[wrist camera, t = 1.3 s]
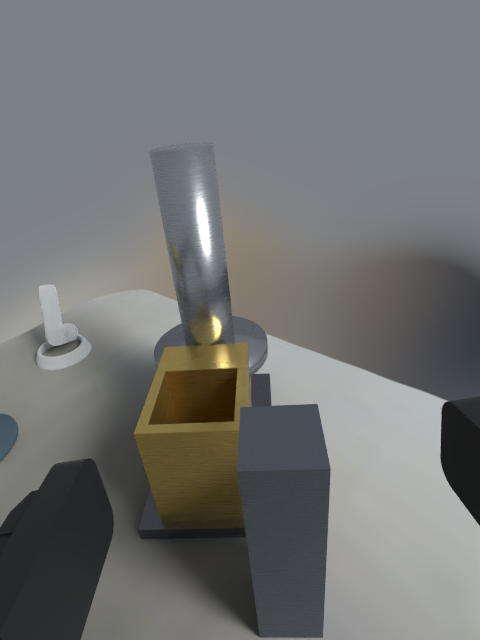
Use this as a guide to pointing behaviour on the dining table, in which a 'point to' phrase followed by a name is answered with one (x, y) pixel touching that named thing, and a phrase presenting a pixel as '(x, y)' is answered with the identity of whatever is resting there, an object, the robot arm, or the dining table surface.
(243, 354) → the flanged pole stand
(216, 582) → the dining table surface
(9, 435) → the cocktail glass
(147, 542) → the dining table surface
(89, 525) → the robot arm
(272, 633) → the grey square peg
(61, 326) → the white vr controller
